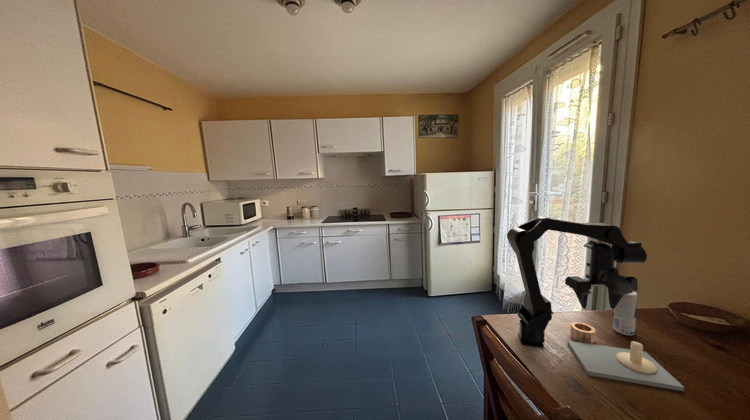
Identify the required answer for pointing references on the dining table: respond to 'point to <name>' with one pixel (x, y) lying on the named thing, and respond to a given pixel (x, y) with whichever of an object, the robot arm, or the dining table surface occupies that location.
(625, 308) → the beverage can
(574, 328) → the wooden slatted ring
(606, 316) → the dining table surface
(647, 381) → the bobbin board
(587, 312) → the dining table surface
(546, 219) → the robot arm
